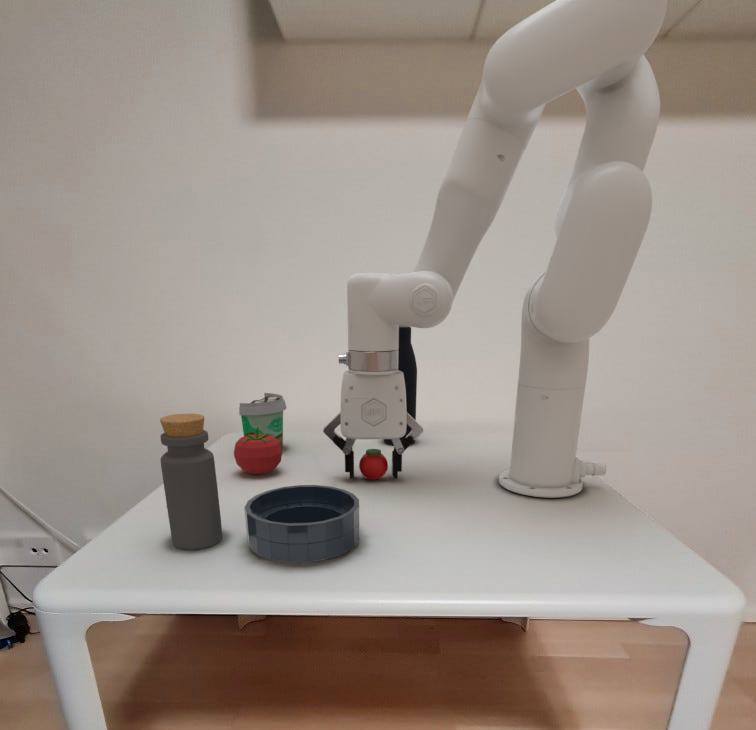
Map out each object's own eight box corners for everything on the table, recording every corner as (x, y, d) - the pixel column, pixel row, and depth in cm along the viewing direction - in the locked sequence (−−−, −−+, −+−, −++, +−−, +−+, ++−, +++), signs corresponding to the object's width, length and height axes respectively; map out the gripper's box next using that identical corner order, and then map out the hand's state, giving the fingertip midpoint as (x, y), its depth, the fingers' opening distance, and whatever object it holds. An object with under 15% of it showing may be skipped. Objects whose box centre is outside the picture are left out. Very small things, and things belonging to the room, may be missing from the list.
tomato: (292, 473, 91) (289, 428, 88) (249, 483, 86) (245, 435, 83) (268, 463, 96) (265, 420, 94) (227, 471, 92) (223, 426, 89)
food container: (274, 460, 98) (271, 405, 94) (243, 458, 99) (238, 403, 96) (297, 443, 109) (295, 393, 106) (269, 441, 110) (265, 392, 107)
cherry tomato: (386, 474, 90) (387, 446, 89) (388, 483, 86) (388, 454, 84) (359, 474, 90) (358, 447, 89) (359, 483, 86) (359, 454, 84)
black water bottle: (389, 446, 107) (390, 282, 96) (379, 439, 113) (380, 283, 102) (419, 444, 109) (424, 283, 98) (409, 437, 114) (412, 283, 104)
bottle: (204, 526, 70) (190, 410, 64) (232, 538, 66) (220, 416, 61) (162, 541, 66) (143, 418, 60) (190, 554, 62) (172, 425, 57)
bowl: (359, 520, 72) (358, 484, 70) (359, 566, 59) (359, 524, 58) (258, 521, 71) (255, 485, 70) (238, 568, 59) (234, 525, 57)
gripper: (313, 365, 78) (318, 484, 84) (433, 365, 78) (429, 482, 85) (317, 359, 85) (321, 469, 91) (427, 359, 85) (423, 468, 92)
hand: (373, 475), depth 88 cm, fingers open, 6 cm apart
